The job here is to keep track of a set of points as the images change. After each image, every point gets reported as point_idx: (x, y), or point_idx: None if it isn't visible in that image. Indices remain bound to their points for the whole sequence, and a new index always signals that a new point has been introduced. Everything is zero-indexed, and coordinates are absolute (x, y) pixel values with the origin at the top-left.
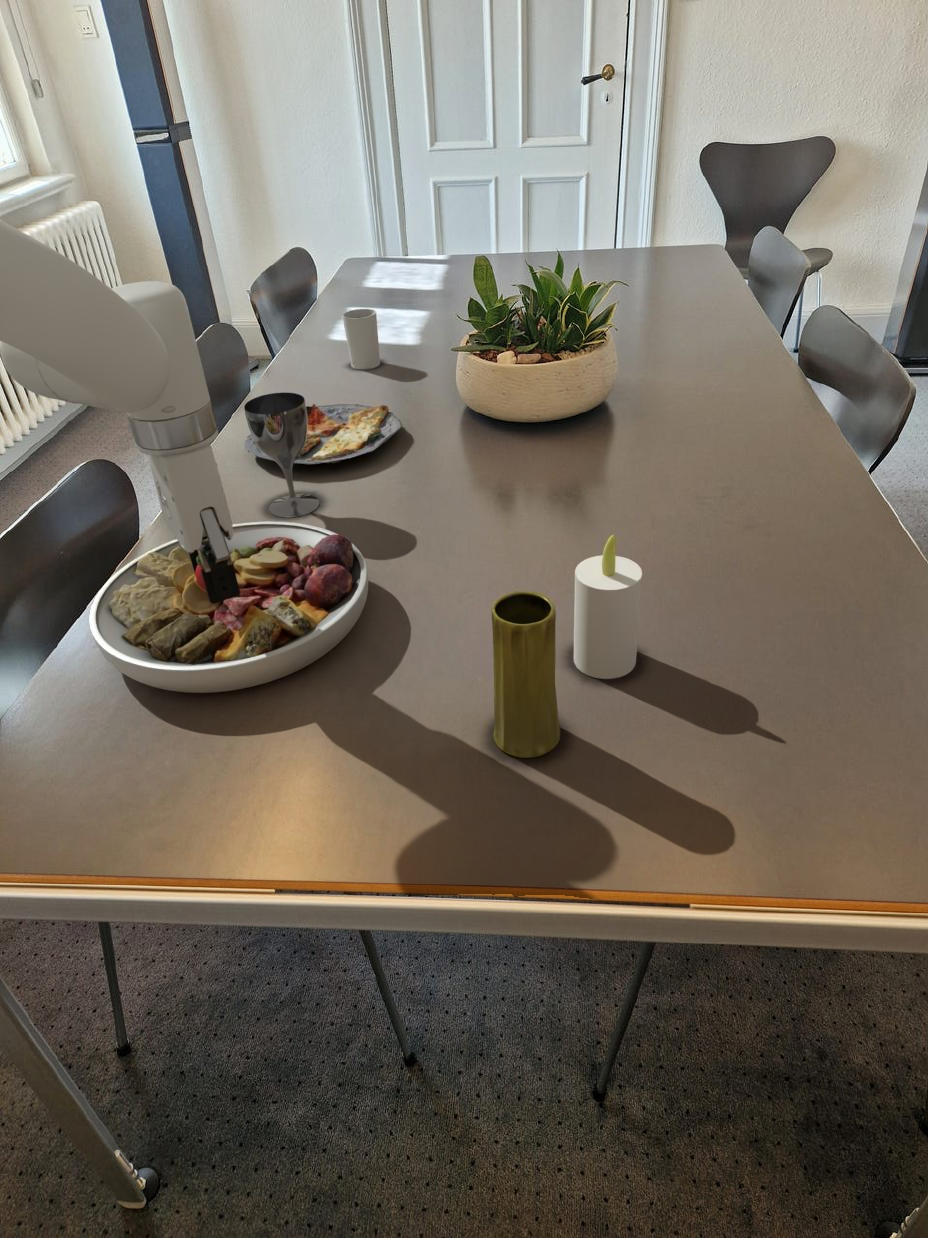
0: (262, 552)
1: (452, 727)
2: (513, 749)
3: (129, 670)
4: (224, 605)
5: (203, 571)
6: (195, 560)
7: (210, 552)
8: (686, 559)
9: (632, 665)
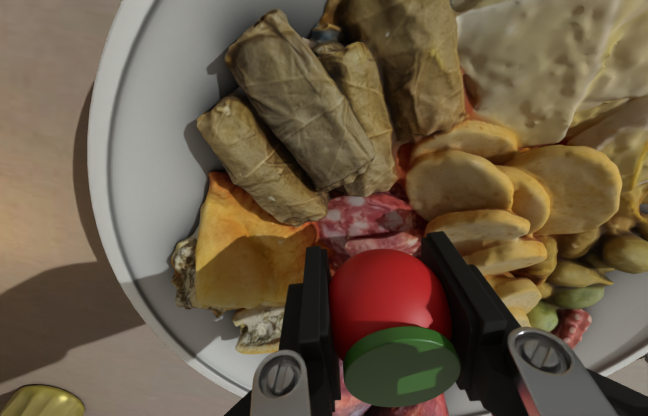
0: None
1: (71, 364)
2: (11, 398)
3: None
4: (401, 228)
5: (300, 344)
6: (459, 308)
7: (436, 377)
8: None
9: None
